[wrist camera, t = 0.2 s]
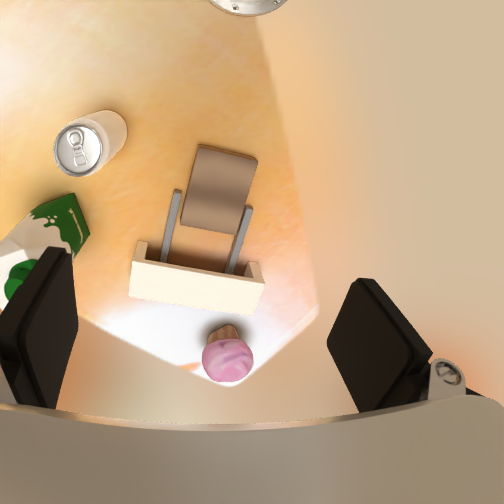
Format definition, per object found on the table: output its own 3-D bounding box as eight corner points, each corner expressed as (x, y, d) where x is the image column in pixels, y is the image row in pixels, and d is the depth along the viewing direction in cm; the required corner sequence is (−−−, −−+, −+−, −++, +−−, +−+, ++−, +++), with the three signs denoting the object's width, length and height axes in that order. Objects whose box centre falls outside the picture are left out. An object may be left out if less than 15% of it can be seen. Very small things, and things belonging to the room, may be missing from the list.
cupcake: (251, 343, 61) (262, 383, 52) (209, 355, 61) (214, 396, 52) (239, 310, 56) (248, 351, 48) (192, 324, 56) (195, 366, 47)
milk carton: (97, 237, 45) (56, 325, 28) (51, 252, 44) (0, 336, 27) (77, 184, 41) (15, 252, 23) (29, 203, 40) (-39, 273, 23)
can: (124, 105, 37) (100, 112, 27) (131, 150, 40) (111, 173, 30) (80, 116, 36) (44, 128, 26) (88, 160, 39) (57, 186, 29)
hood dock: (148, 184, 43) (142, 198, 38) (275, 211, 48) (286, 228, 43) (133, 273, 49) (128, 296, 44) (246, 292, 55) (252, 315, 50)
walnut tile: (198, 143, 42) (199, 147, 39) (254, 157, 44) (258, 161, 42) (180, 216, 46) (180, 224, 44) (232, 226, 49) (235, 235, 46)
